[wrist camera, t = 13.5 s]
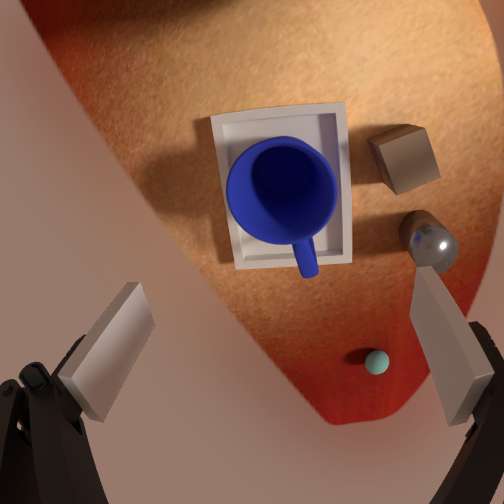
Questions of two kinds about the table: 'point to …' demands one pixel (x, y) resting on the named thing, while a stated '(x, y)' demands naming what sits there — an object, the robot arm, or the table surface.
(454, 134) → the table surface
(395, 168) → the walnut block
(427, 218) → the tin
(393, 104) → the table surface
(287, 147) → the mug
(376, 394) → the table surface
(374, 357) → the ball
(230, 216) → the tray
